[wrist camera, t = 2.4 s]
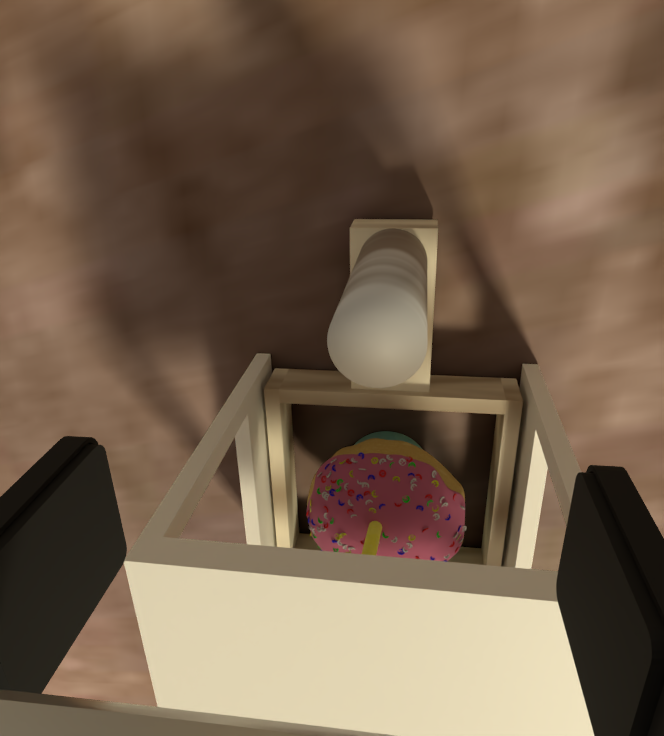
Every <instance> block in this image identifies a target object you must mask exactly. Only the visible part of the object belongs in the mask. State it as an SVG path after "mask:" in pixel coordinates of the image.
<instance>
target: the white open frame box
mask: <svg viewBox="0 0 664 736" xmlns="http://www.w3.org/2000/svg"><path fill="white" fill-rule="evenodd" d="M271 375H272V365H271V354H263V353H257V354H256V355H255V357H254V359H253V360H252V362H251V363H250V365H249V366H248V368H247V369H246V371H245V373H244V374H243V376H242V377H241V379H240V380H239V382H238V383H237V385H236V387H235V388H234V390H233V391H232V393H231V394H230V396H229V397H228V399H227V401H226V402H225V404H224V405H223V407H222V408H221V410H220V411H219V413H218V415H217V416H216V418H215V419H214V421H213V422H212V424H211V425H210V427H209V429H208V430H207V432H206V433H205V435H204V436H203V438H202V439H201V441H200V443H199V444H198V446H197V447H196V449H195V450H194V452H193V453H192V455H191V457H190V458H189V460H188V461H187V463H186V464H185V466H184V468H183V469H182V471H181V472H180V474H179V475H178V477H177V478H176V480H175V482H174V483H173V485H172V486H171V488H170V489H169V491H168V492H167V494H166V496H165V497H164V499H163V500H162V502H161V503H160V505H159V506H158V508H157V510H156V511H155V513H154V514H153V516H152V517H151V519H150V520H149V522H148V524H147V525H146V527H145V528H144V530H143V531H142V533H141V534H140V536H139V538H138V539H137V541H136V542H135V544H134V545H133V547H132V548H131V550H130V552H129V553H128V555H127V556H126V558H125V560H124V565H125V569H126V573H127V577H128V582H129V586H130V590H131V595H132V599H133V603H134V607H135V612H136V616H137V620H138V624H139V629H140V633H141V637H142V642H143V646H144V650H145V654H146V659H147V663H148V667H149V671H150V676H151V680H152V684H153V689H154V693H155V697H156V701H157V706H158V707H162V708H171V709H179V710H188V711H196V712H205V713H214V714H222V715H231V716H239V717H247V718H256V719H264V720H273V721H281V722H289V723H298V724H306V725H314V726H323V727H331V728H339V729H347V730H355V731H363V732H371V733H379V734H387V735H395V736H594V732H593V729H592V725H591V721H590V718H589V714H588V710H587V707H586V703H585V699H584V696H583V692H582V689H581V685H580V681H579V678H578V674H577V670H576V667H575V663H574V659H573V656H572V652H571V648H570V645H569V641H568V637H567V634H566V630H565V626H564V623H563V619H562V615H561V612H560V608H559V604H558V600H557V594H556V582H557V575H558V571H548V570H536V569H531V566H532V560H533V554H534V548H535V542H536V536H537V530H538V524H539V518H540V511H541V505H542V499H543V493H544V487H545V481H546V475H547V469H548V470H549V473H550V476H551V479H552V482H553V485H554V488H555V492H556V495H557V498H558V501H559V504H560V507H561V511H562V514H563V517H564V520H565V523H566V526H567V522H568V516H569V511H570V506H571V500H572V495H573V490H574V484H575V479H576V476H577V474H578V473H579V472H581V470H580V468H579V465H578V463H577V460H576V458H575V455H574V453H573V450H572V448H571V445H570V443H569V440H568V438H567V435H566V433H565V430H564V428H563V425H562V423H561V420H560V418H559V415H558V413H557V410H556V408H555V405H554V403H553V400H552V398H551V395H550V393H549V390H548V388H547V385H546V383H545V380H544V378H543V375H542V373H541V370H540V368H539V365H538V364H522V371H521V379H520V387H519V390H520V393H521V396H522V399H523V405H522V413H521V420H520V428H519V435H518V443H517V450H516V458H515V465H514V473H513V480H512V488H511V495H510V503H509V510H508V517H507V525H506V532H505V540H504V547H503V555H502V562H501V566H490V565H479V564H468V563H456V562H445V561H433V560H422V559H410V558H399V557H387V556H376V555H365V554H353V553H342V552H330V551H319V550H307V549H296V548H284V547H277V540H276V528H275V516H274V504H273V492H272V480H271V468H270V456H269V444H268V432H267V420H266V408H265V396H264V388H265V386H266V384H267V382H268V380H269V378H270V377H271ZM234 438H235V442H236V451H237V460H238V469H239V478H240V487H241V496H242V505H243V514H244V522H245V531H246V540H247V544H239V543H227V542H216V541H204V540H193V539H181V538H179V537H180V535H181V534H182V532H183V530H184V528H185V526H186V525H187V523H188V521H189V519H190V517H191V516H192V514H193V512H194V510H195V508H196V506H197V505H198V503H199V501H200V499H201V497H202V496H203V494H204V492H205V490H206V488H207V487H208V485H209V483H210V481H211V479H212V477H213V476H214V474H215V472H216V470H217V468H218V467H219V465H220V463H221V461H222V459H223V458H224V456H225V454H226V452H227V450H228V448H229V447H230V445H231V443H232V441H233V439H234Z"/></svg>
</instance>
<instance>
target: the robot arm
mask: <svg viewBox="0 0 664 736" xmlns="http://www.w3.org/2000/svg"><path fill="white" fill-rule="evenodd" d="M126 551H127V547H126V541H125V537H124V532H123V528H122V523H121V519H120V514H119V509H118V505H117V500H116V496H115V491H114V487H113V482H112V478H111V473H110V469H109V464H108V460H107V455H106V451H105V448H104V447H103V446H102V445H98V442H97V441H96V440H95V439H94V438H92V437H74V436H65V437H63V438H62V439H60V440H59V441H58V442H57V443H56V444H55V445H54V446H53V447H52V448H51V449H50V450H49V451H48V452H47V453H46V454H45V455H44V456H43V457H42V458H40V459H39V460H38V461H37V462H36V463H35V464H34V465H33V466H32V467H31V468H30V469H29V470H28V471H27V472H26V473H25V474H24V475H23V476H22V477H21V478H20V479H19V480H18V481H17V482H16V483H14V484H13V485H12V486H11V487H10V488H9V489H8V490H7V491H6V492H5V493H4V494H3V495H2V496H1V497H0V736H395V735H387V734H379V733H371V732H363V731H355V730H347V729H339V728H331V727H323V726H314V725H306V724H298V723H289V722H281V721H273V720H264V719H256V718H247V717H239V716H231V715H222V714H214V713H205V712H196V711H188V710H179V709H171V708H162V707H154V706H145V705H136V704H127V703H118V702H109V701H100V700H92V699H83V698H74V697H65V696H56V695H47V694H41V693H42V692H43V690H44V689H45V687H46V685H47V684H48V682H49V681H50V679H51V677H52V676H53V674H54V673H55V671H56V669H57V668H58V666H59V665H60V663H61V662H62V660H63V658H64V657H65V655H66V654H67V652H68V650H69V649H70V647H71V646H72V644H73V642H74V641H75V639H76V638H77V636H78V635H79V633H80V631H81V630H82V628H83V627H84V625H85V623H86V622H87V620H88V619H89V617H90V616H91V614H92V612H93V611H94V609H95V608H96V606H97V604H98V603H99V601H100V600H101V598H102V596H103V595H104V593H105V592H106V590H107V589H108V587H109V585H110V584H111V582H112V581H113V579H114V577H115V576H116V574H117V573H118V571H119V570H120V568H121V566H122V565H123V563H124V560H125V557H126ZM556 594H557V600H558V604H559V608H560V612H561V615H562V619H563V623H564V626H565V630H566V634H567V637H568V641H569V645H570V648H571V652H572V656H573V659H574V663H575V667H576V670H577V674H578V678H579V681H580V685H581V689H582V692H583V696H584V699H585V703H586V707H587V710H588V714H589V718H590V721H591V725H592V729H593V732H594V736H664V538H663V537H662V535H661V533H660V531H659V529H658V527H657V526H656V524H655V522H654V520H653V518H652V517H651V515H650V513H649V511H648V509H647V507H646V506H645V504H644V502H643V500H642V498H641V497H640V495H639V493H638V491H637V489H636V487H635V486H634V484H633V482H632V480H631V478H630V477H629V475H628V473H627V471H626V470H625V469H624V468H623V467H615V466H597V465H590V466H589V467H588V469H587V472H586V473H583V472H579V473H578V474H577V476H576V479H575V484H574V490H573V495H572V500H571V506H570V511H569V516H568V522H567V527H566V532H565V538H564V543H563V549H562V554H561V559H560V565H559V570H558V575H557V582H556Z"/></svg>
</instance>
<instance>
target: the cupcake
mask: <svg viewBox="0 0 664 736" xmlns="http://www.w3.org/2000/svg"><path fill="white" fill-rule="evenodd" d="M306 516H307V518H308V523H309V529H310V530H311V531H310V536H311V534H312V537H313V539H314V540H315V542H316V543H317V545H318V548H320V549H321V551H330V552H342V553H353V554H365V555H376V556H387V557H399V558H410V559H422V560H433V561H445V562H447V561H448V560H449V559H451V558H452V557H453V556H454V555H455V554H456V553H457V552H458V551H459V549H460V547H461V545H462V542H463V539H464V531H466V529H467V527H466V526H465V494H464V489H463V487H462V485H461V484H460V483H459V482H458V481H457V480H456V479H455V478H454V477H453V476H452V474H451V473H450V472H449V471H448V470H447V469H446V468H445V467H444V466H443V465H442V464H441V463H440V462H438V461H437V460H436V459H435V458H434V457H433V456H431V455H430V454H429V453H427V452H426V451H424V450H423V449H422V448H421V447H420V446H419V445H418V444H417V443H416V442H415V441H414V440H412V439H411V438H409V437H407V436H405V435H403V434H400V433H397V432H391V431H381V432H375V433H371V434H369V435H366V436H364V437H363V438H361V439H360V440H359V441H357V442H356V443H355V445H353V446H349V447H344V448H342V449H340V450H338V451H337V452H336V453H335V454H334V455H333V456H332V457H331V458H330V459H329V460H327V461H326V462H325V463H324V464H323V465H322V466H321V467H320V468H319V469H318V471H317V473H316V474H315V476H314V478H313V480H312V483H311V487H310V491H309V495H308V500H307V514H306Z"/></svg>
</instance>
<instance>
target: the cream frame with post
mask: <svg viewBox="0 0 664 736" xmlns="http://www.w3.org/2000/svg"><path fill="white" fill-rule="evenodd" d="M437 241H438V220H425V219H354V221H353V223H352V225H351V226H350V277H349V280H348V282H347V285H346V287H345V290H344V292H343V294H342V297H341V299H340V302H339V304H338V307H337V309H336V312H335V314H334V316H333V319H332V321H331V324H330V327H329V330H328V335H327V346H328V351H329V355H330V357H331V360H332V361H333V363H334V365H335V366H336V368H337V369H338V370H339V371H327V370H304V369H280V368H275V369H274V371H273V373H272V375H271V377H270V378H269V380H268V382H267V384H266V386H265V388H264V396H265V408H266V420H267V432H268V444H269V456H270V468H271V480H272V492H273V504H274V516H275V528H276V540H277V547H284V548H296V549H307V550H319V551H321V549H320V548H318V545H317V543H316V542H315V540H314V539H313V537H312V534H311V536H310V534H301V533H299V524H298V507H297V491H296V475H295V459H294V443H293V426H292V410H291V404H310V405H329V406H349V407H368V408H388V409H407V410H427V411H446V412H465V413H485V414H496V423H495V432H494V441H493V450H492V459H491V467H490V476H489V485H488V494H487V503H486V512H485V521H484V530H483V538H482V547H481V548H469V547H460V549H459V551H458V552H457V553H456V554H455V555H454V556H453V557H452V558H451V559H449V560H448V561H447V562H456V563H468V564H479V565H490V566H501V562H502V555H503V547H504V540H505V532H506V525H507V517H508V510H509V503H510V495H511V488H512V480H513V473H514V465H515V458H516V450H517V443H518V435H519V428H520V420H521V413H522V405H523V399H522V396H521V393H520V390H519V386H518V383H517V380H516V379H514V378H491V377H467V376H444V375H430V369H431V351H432V333H433V314H434V296H435V277H436V259H437Z"/></svg>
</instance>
